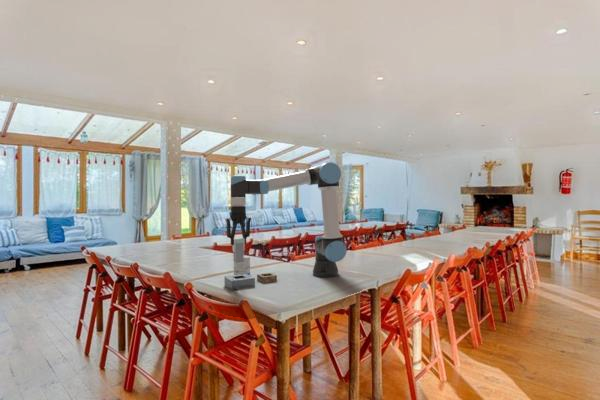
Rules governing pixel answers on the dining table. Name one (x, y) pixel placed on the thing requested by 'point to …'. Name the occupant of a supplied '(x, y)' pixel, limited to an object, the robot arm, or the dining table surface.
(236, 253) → the plug
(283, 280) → the dining table surface
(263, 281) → the brown hollow block
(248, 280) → the block
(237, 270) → the ink box
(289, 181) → the robot arm
